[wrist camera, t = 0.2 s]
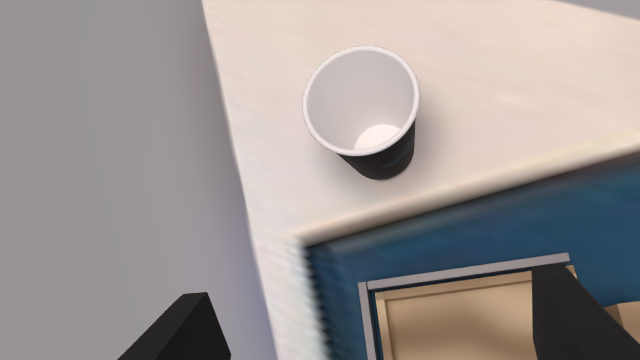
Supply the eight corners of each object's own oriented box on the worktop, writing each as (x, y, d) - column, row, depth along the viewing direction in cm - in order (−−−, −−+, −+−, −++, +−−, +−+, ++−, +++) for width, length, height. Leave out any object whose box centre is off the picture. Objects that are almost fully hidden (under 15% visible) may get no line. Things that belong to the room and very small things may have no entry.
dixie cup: (428, 199, 44) (416, 155, 34) (333, 196, 46) (295, 154, 36) (432, 108, 46) (422, 41, 36) (341, 110, 48) (307, 47, 38)
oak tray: (664, 388, 36) (703, 397, 30) (396, 413, 40) (383, 425, 34) (626, 260, 39) (656, 245, 33) (379, 295, 43) (364, 286, 37)
